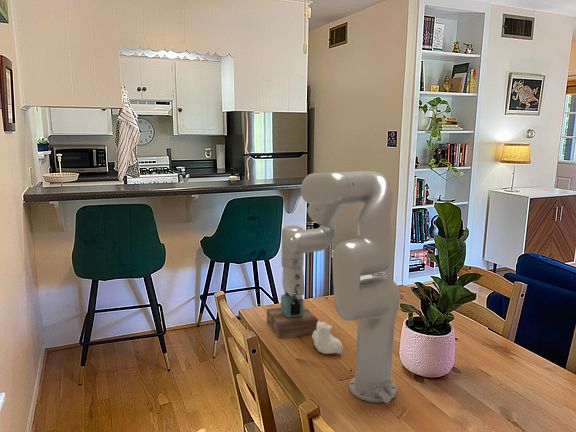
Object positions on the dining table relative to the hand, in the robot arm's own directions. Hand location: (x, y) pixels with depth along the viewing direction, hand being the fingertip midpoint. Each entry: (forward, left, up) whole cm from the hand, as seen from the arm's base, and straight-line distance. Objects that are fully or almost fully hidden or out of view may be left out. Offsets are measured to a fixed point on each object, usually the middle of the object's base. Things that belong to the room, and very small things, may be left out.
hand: (292, 310), depth 161 cm
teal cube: (0, 0, -1) cm, 1 cm away
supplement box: (+8, -33, -7) cm, 35 cm away
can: (+14, -43, -7) cm, 46 cm away
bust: (-20, -4, -7) cm, 21 cm away
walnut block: (0, 0, -6) cm, 6 cm away
